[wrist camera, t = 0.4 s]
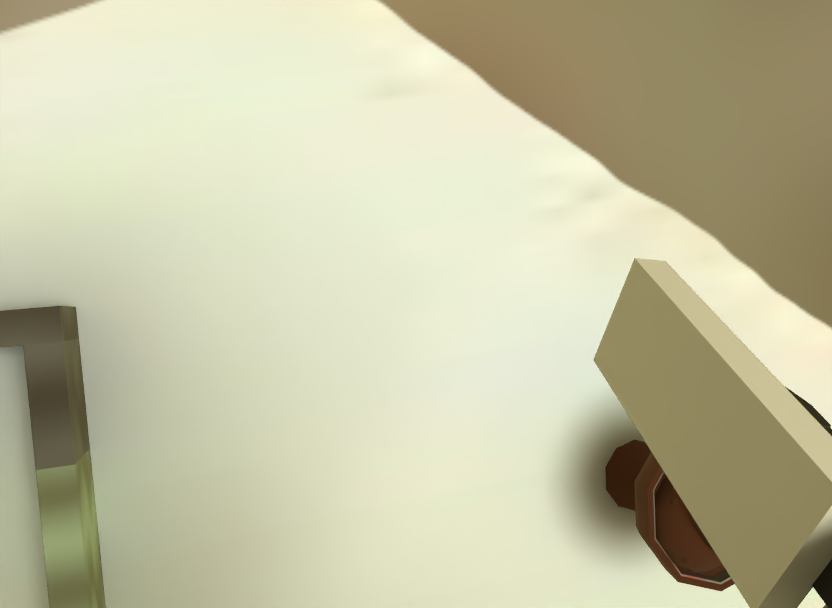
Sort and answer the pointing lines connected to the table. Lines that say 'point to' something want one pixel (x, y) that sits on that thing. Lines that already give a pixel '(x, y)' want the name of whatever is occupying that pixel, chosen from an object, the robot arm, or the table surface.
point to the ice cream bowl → (663, 517)
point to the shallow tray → (60, 451)
